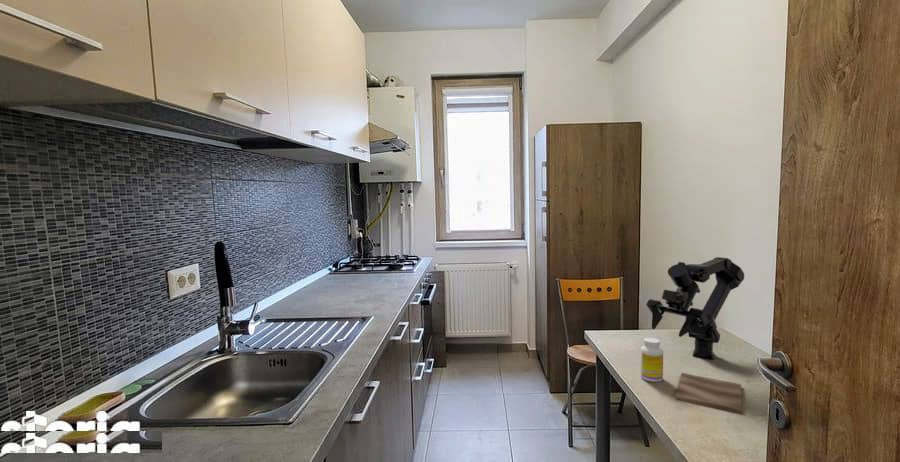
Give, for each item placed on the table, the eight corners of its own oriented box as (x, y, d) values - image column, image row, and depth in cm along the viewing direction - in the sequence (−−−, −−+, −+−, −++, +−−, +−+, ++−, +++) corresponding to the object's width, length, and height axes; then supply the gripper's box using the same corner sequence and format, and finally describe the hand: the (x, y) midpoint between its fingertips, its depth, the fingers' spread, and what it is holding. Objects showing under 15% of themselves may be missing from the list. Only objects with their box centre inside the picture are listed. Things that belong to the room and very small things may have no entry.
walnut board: (681, 375, 137) (681, 372, 137) (740, 387, 128) (740, 384, 128) (675, 398, 122) (675, 395, 122) (741, 413, 113) (741, 410, 113)
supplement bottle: (665, 383, 131) (666, 344, 130) (643, 382, 133) (643, 343, 132) (659, 374, 138) (660, 337, 137) (638, 373, 139) (638, 336, 138)
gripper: (649, 276, 148) (630, 312, 143) (705, 285, 132) (685, 325, 127) (661, 295, 152) (643, 330, 147) (716, 306, 137) (698, 345, 132)
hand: (665, 332), depth 138 cm, fingers open, 9 cm apart
